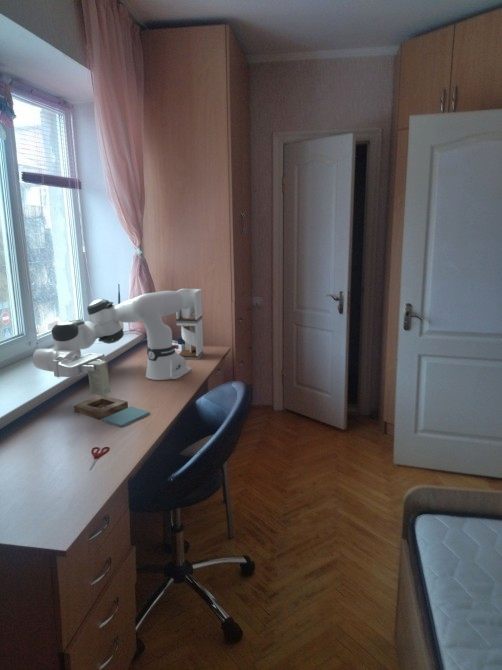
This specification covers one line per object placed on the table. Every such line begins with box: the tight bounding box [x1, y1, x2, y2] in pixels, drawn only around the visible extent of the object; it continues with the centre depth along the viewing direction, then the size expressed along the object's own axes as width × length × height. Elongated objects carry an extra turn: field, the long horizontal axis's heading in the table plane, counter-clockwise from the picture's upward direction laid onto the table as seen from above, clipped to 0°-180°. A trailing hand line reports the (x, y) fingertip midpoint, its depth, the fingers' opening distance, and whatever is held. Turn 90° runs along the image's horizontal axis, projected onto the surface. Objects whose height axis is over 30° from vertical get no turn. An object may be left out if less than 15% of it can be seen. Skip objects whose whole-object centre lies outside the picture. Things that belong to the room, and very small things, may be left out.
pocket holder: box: [73, 394, 129, 421], centre depth 186 cm, size 14×14×2 cm
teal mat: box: [101, 406, 151, 428], centre depth 179 cm, size 14×10×1 cm
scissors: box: [89, 446, 111, 471], centre depth 149 cm, size 5×14×1 cm, turn 3°
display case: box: [175, 288, 204, 361], centre depth 252 cm, size 11×11×35 cm
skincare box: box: [87, 360, 111, 396], centre depth 183 cm, size 6×4×12 cm
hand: (99, 366), depth 181 cm, fingers closed on skincare box, 4 cm apart
